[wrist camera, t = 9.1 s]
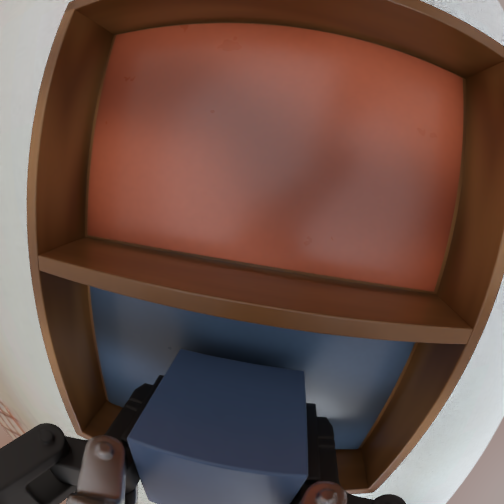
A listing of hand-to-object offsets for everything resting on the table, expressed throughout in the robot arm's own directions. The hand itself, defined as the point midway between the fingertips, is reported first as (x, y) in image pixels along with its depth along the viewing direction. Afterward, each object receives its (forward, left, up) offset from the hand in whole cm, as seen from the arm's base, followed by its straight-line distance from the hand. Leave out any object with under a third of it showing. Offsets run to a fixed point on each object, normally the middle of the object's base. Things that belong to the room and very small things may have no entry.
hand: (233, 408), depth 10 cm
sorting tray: (-5, 0, -3) cm, 6 cm away
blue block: (0, 0, 0) cm, 0 cm away
